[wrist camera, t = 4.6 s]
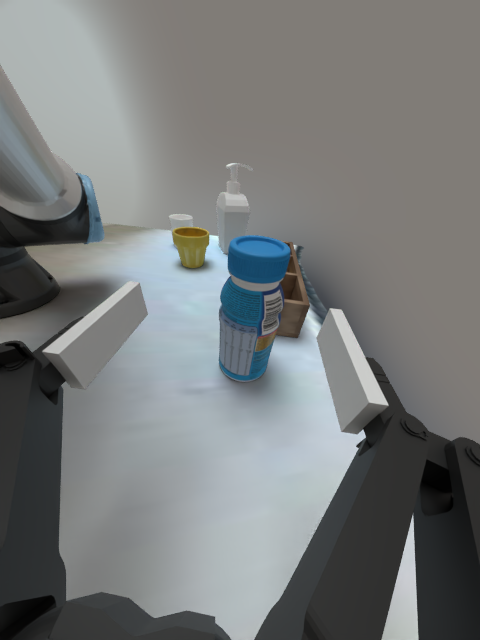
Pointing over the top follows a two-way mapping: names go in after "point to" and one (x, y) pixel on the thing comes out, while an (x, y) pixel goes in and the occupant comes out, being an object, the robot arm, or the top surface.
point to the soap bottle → (232, 210)
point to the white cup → (180, 221)
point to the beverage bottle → (251, 305)
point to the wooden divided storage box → (293, 298)
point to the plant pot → (191, 245)
